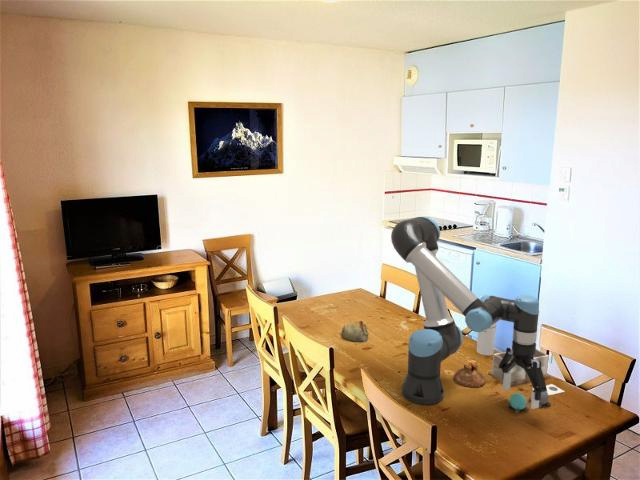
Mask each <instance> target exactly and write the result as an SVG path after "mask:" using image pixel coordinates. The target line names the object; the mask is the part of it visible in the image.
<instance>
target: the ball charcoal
mask: <svg viewBox="0 0 640 480" xmlns="http://www.w3.org/2000/svg"><path fill="white" fill-rule="evenodd" d="M549 396H550V395H548V393H547V392H546V391H545V392H541V399H540V400H539V404H541V405H545V404H547V402H549V399H550V397H549Z"/></svg>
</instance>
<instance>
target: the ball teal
mask: <svg viewBox="0 0 640 480" xmlns="http://www.w3.org/2000/svg"><path fill="white" fill-rule="evenodd" d="M509 404H511V407H512V408H513V409H514V410H516V409H518V410H519V411H520V410H523V409H524V408H525V407H527V404H528V403H527V399H526V397H525V395H524V394H522V393H519V392H517V393H516V392H515V393H512V394H511V395H510V398H509Z"/></svg>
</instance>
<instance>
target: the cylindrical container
mask: <svg viewBox="0 0 640 480" xmlns="http://www.w3.org/2000/svg"><path fill="white" fill-rule="evenodd" d="M482 296H483V295H481V296H480V298H481V297H482ZM496 329H497V322H496V323H494V324H493V325H492V326H491V327H490V328H488V329H486V330H484V331H482V332H477V338H476V339H477V342H476V352H477V353H478V354H479V355H482V356H493V354H495V353H494V352H495V340H496Z"/></svg>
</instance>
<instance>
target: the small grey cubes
mask: <svg viewBox="0 0 640 480" xmlns="http://www.w3.org/2000/svg"><path fill="white" fill-rule="evenodd" d="M531 398H532V397H529V398H528V402H529V403H531ZM545 404H546V406H548V407H551V405H552V402H550V401H547V403H545ZM505 406H506V407H507V408H511V407H512V406H511V404H510V402H508V403H507V402H506V405H505ZM542 407H543V404H539V408H538V409H542ZM523 409H524V411H525V412H529V409H530V407H528V406H525V408H523ZM514 413H515V414H517V415H518V414H520V410H518V409H514Z"/></svg>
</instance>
